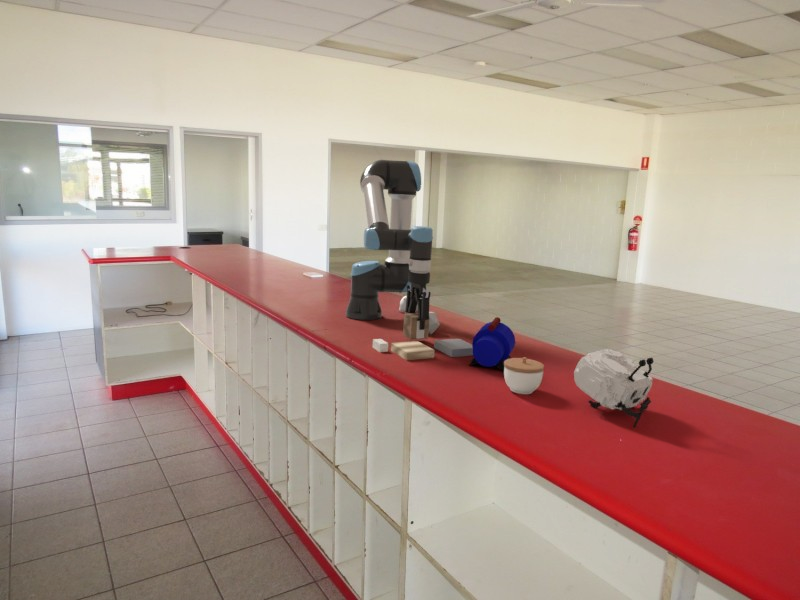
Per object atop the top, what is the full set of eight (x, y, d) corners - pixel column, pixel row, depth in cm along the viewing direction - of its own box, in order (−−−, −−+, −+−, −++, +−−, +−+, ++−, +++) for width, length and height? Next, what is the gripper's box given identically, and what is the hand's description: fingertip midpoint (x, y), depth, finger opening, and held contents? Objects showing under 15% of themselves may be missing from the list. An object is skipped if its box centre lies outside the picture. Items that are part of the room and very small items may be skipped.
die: (442, 333, 218) (433, 310, 221) (442, 327, 209) (433, 303, 213) (421, 340, 217) (412, 317, 221) (420, 334, 209) (411, 310, 212)
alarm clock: (514, 364, 179) (518, 318, 177) (504, 374, 168) (508, 325, 166) (477, 358, 184) (481, 313, 182) (465, 367, 173) (469, 320, 171)
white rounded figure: (423, 290, 254) (400, 290, 248) (433, 306, 247) (410, 307, 241) (416, 304, 259) (394, 305, 253) (426, 321, 252) (403, 322, 246)
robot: (621, 442, 133) (652, 380, 125) (557, 393, 147) (582, 334, 139) (659, 427, 143) (690, 368, 136) (596, 382, 157) (621, 327, 149)
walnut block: (403, 335, 202) (404, 313, 200) (420, 334, 205) (421, 312, 203) (410, 339, 196) (411, 317, 195) (428, 338, 199) (429, 316, 198)
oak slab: (390, 351, 189) (390, 342, 188) (416, 349, 193) (417, 340, 192) (406, 361, 178) (407, 352, 177) (434, 359, 182) (434, 350, 182)
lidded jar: (494, 385, 158) (497, 353, 156) (526, 382, 162) (529, 351, 160) (516, 399, 148) (519, 364, 146) (549, 395, 152) (553, 361, 150)
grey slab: (433, 348, 195) (434, 340, 194) (458, 346, 199) (459, 338, 198) (451, 358, 184) (452, 349, 184) (477, 356, 188) (477, 347, 188)
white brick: (372, 347, 191) (372, 339, 190) (380, 347, 192) (380, 338, 192) (379, 352, 186) (380, 343, 185) (387, 351, 187) (388, 343, 186)
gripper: (398, 267, 202) (394, 329, 207) (422, 276, 186) (418, 343, 190) (416, 267, 206) (412, 328, 210) (442, 275, 189) (437, 342, 194)
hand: (415, 335), depth 200 cm, fingers closed on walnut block, 6 cm apart
